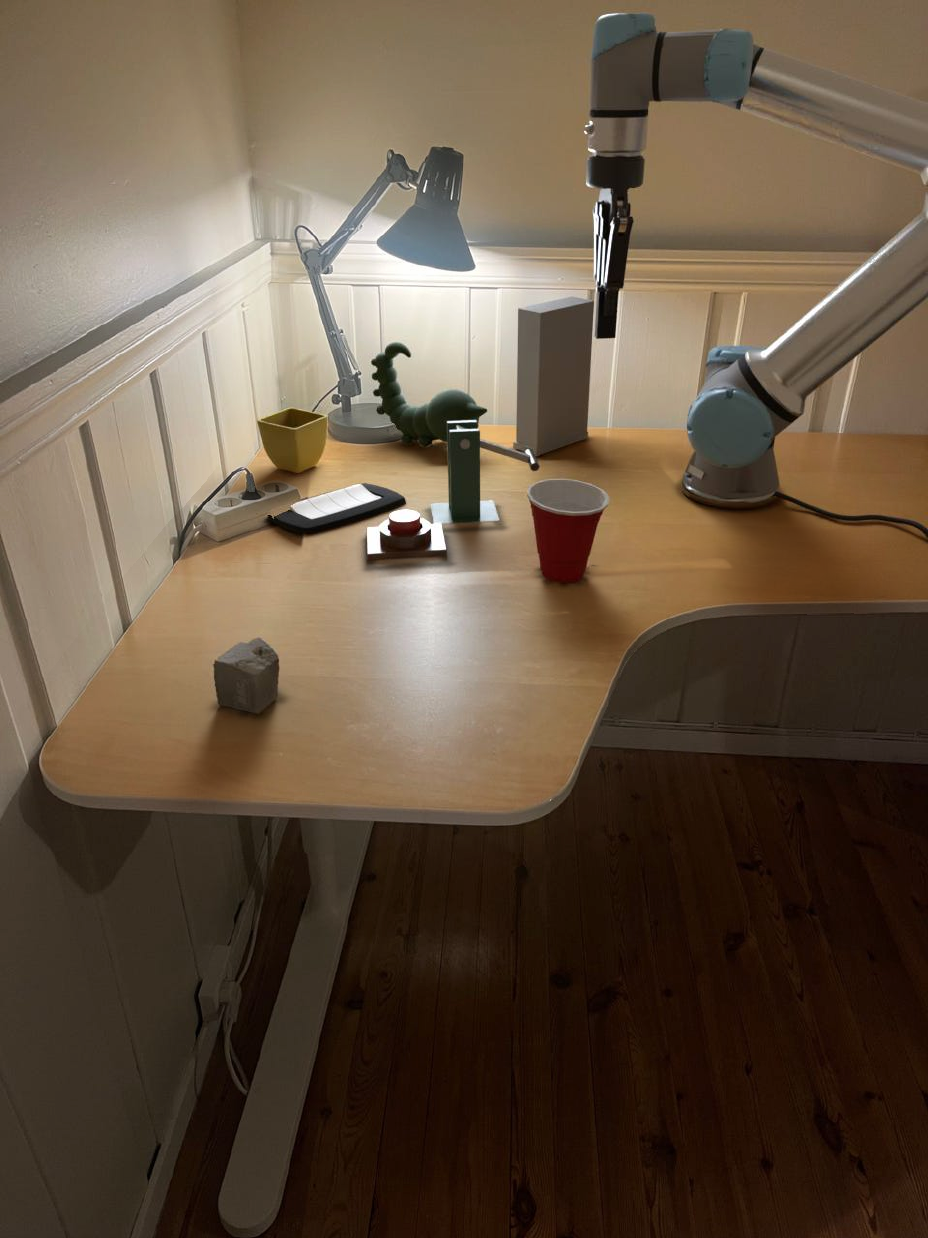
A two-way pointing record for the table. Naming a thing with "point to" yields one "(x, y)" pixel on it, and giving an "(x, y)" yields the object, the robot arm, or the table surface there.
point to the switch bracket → (463, 479)
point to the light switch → (338, 508)
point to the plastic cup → (565, 525)
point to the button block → (405, 542)
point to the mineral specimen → (247, 676)
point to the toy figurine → (414, 419)
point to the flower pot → (294, 438)
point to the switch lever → (509, 452)
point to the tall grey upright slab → (553, 374)
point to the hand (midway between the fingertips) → (604, 336)
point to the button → (404, 522)
